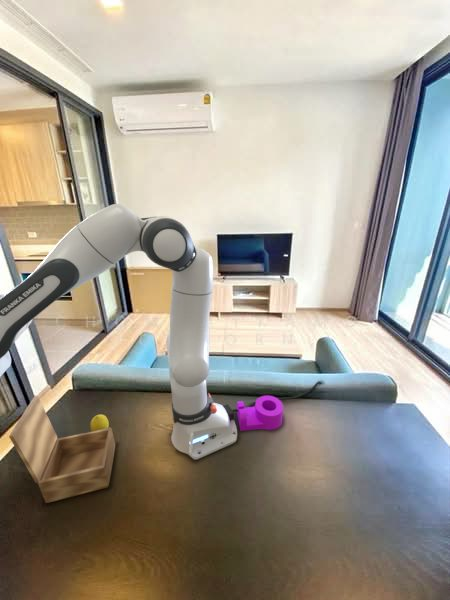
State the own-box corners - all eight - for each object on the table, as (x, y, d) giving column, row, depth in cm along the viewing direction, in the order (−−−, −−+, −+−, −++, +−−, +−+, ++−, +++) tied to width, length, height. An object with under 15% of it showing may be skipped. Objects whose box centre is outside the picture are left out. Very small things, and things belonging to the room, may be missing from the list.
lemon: (103, 441, 83) (99, 423, 81) (89, 439, 84) (84, 421, 82) (113, 428, 89) (109, 410, 86) (100, 426, 90) (95, 408, 87)
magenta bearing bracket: (277, 407, 97) (278, 394, 95) (285, 428, 88) (286, 414, 86) (236, 410, 96) (236, 397, 93) (240, 432, 86) (241, 418, 84)
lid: (37, 395, 70) (34, 395, 70) (12, 435, 57) (8, 436, 57) (57, 437, 76) (54, 438, 76) (39, 481, 63) (35, 482, 63)
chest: (115, 445, 82) (111, 427, 80) (108, 487, 70) (103, 467, 67) (62, 457, 79) (56, 438, 76) (45, 503, 66) (37, 483, 64)
